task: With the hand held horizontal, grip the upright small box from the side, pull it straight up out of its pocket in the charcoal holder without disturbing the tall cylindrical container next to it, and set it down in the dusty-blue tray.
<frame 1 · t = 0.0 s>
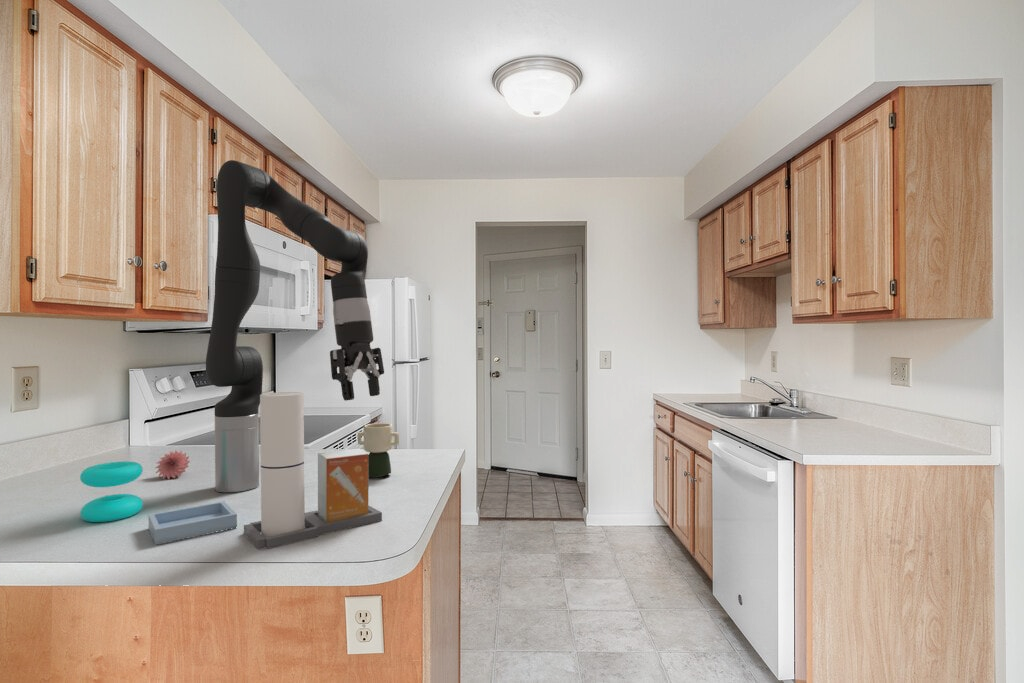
hand: (362, 397, 114), 22 cm above the countertop, tool pointing down, fingers open, 8 cm apart
flower: (174, 477, 138), on the countertop
cylindrical container: (283, 535, 97), resting in holder
donuts: (112, 516, 108), on the countertop
holder: (314, 527, 100), on the countertop
small box: (343, 521, 104), resting in holder
character mug: (378, 477, 137), on the countertop
tray: (192, 528, 100), on the countertop
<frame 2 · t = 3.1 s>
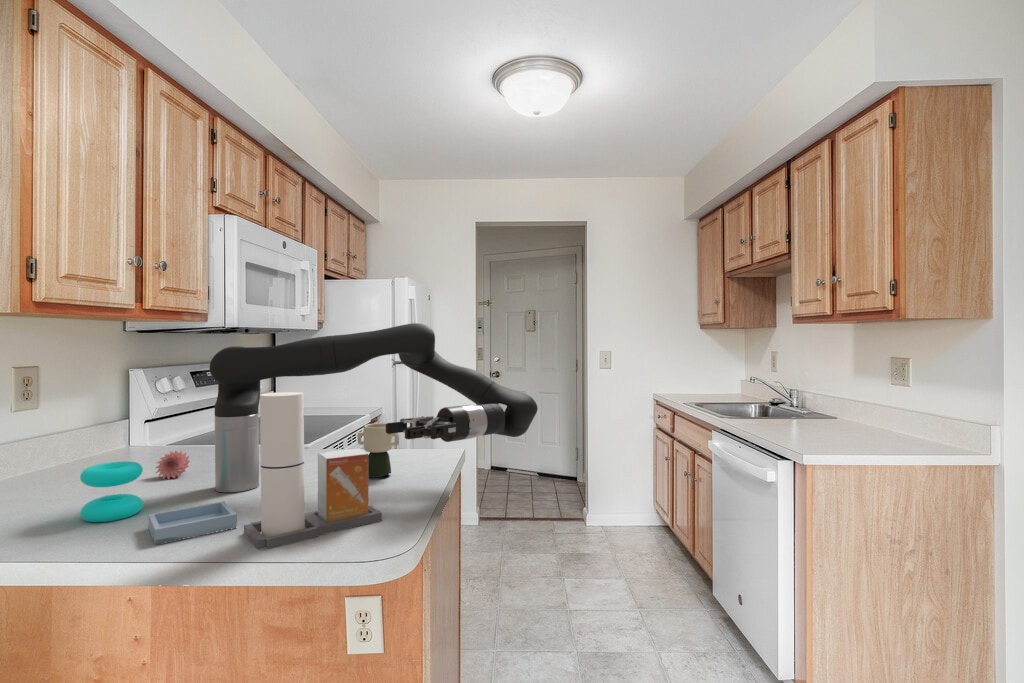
hand: (395, 431, 111), 16 cm above the countertop, tool horizontal, fingers open, 8 cm apart
nothing on the countertop moved.
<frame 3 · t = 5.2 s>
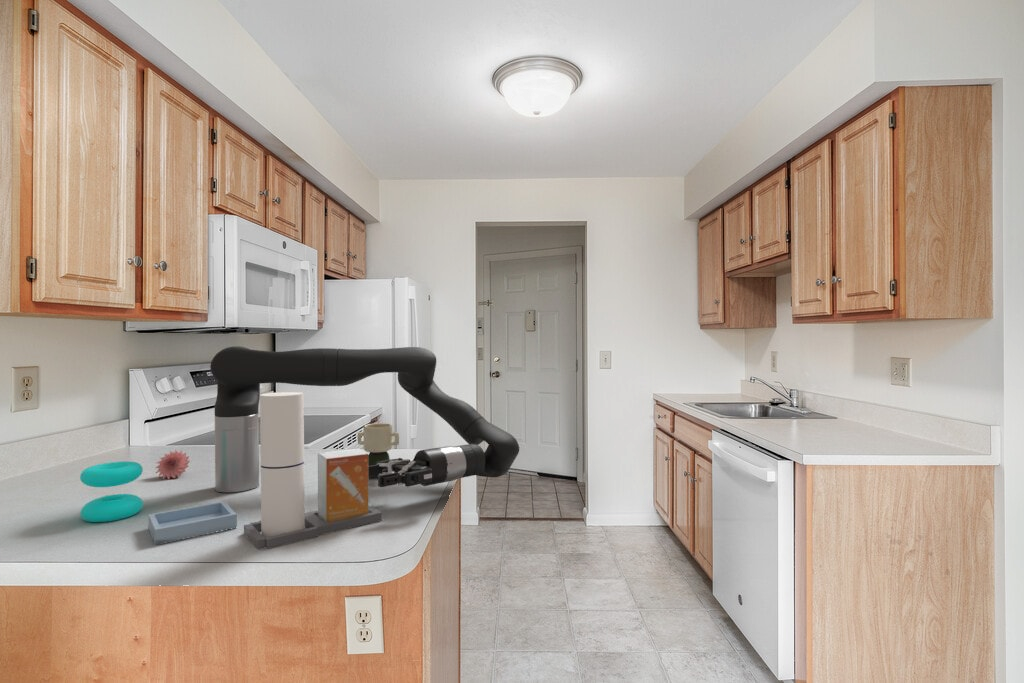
hand: (369, 477, 107), 7 cm above the countertop, tool horizontal, fingers open, 8 cm apart
nothing on the countertop moved.
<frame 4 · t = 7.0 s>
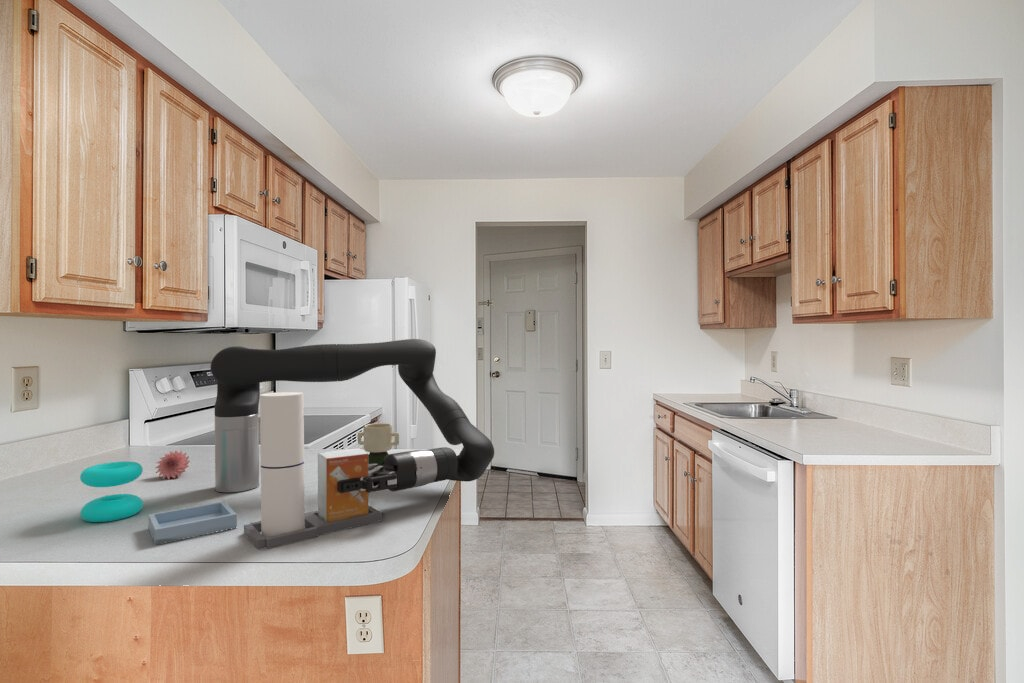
hand: (331, 483, 102), 8 cm above the countertop, tool horizontal, fingers closed on small box, 6 cm apart
small box: (343, 521, 104), resting in holder, touching gripper
everything else where it was.
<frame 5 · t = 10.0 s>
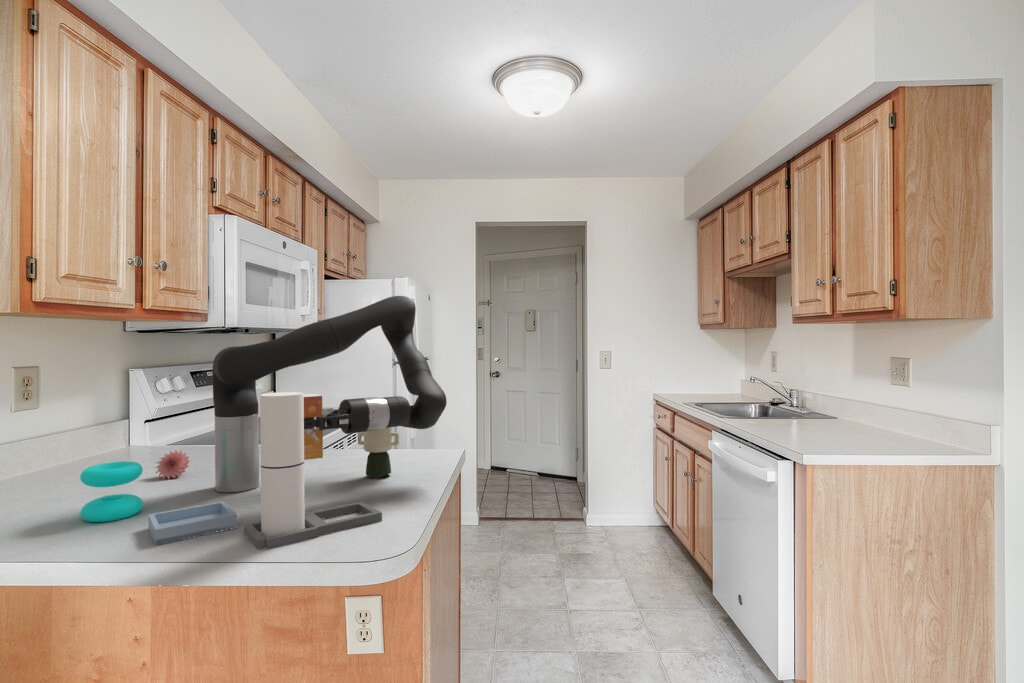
hand: (287, 422, 111), 18 cm above the countertop, tool horizontal, fingers closed on small box, 6 cm apart
small box: (299, 459, 112), point 10 cm above the countertop, touching gripper
everything else where it was.
when the fingers open (10 cm above the countertop, at t = 13.2 s): small box drops 1 cm, resting on tray.
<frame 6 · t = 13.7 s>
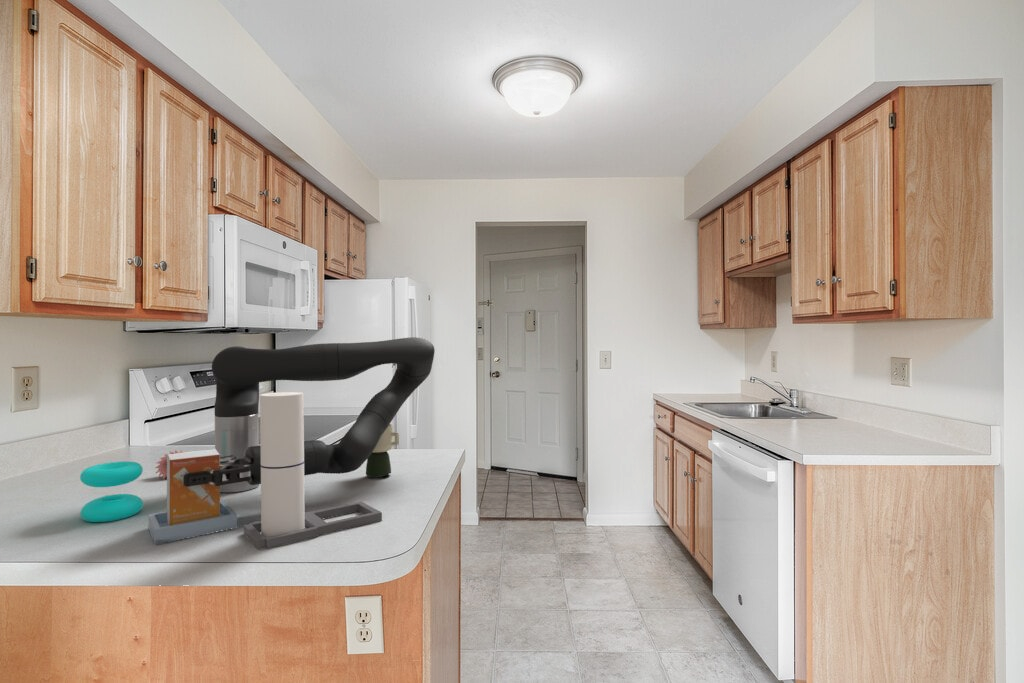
hand: (180, 475, 99), 10 cm above the countertop, tool horizontal, fingers open, 8 cm apart
small box: (193, 525, 100), point 1 cm above the countertop, touching tray
everything else where it was.
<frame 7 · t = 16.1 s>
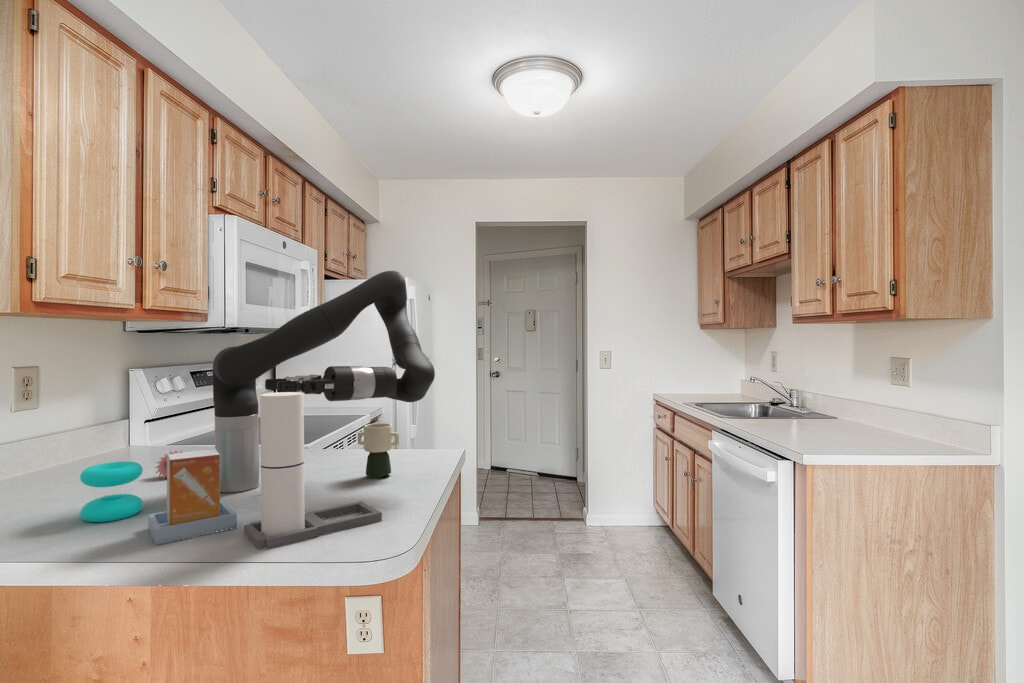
hand: (271, 385, 109), 25 cm above the countertop, tool horizontal, fingers open, 8 cm apart
nothing on the countertop moved.
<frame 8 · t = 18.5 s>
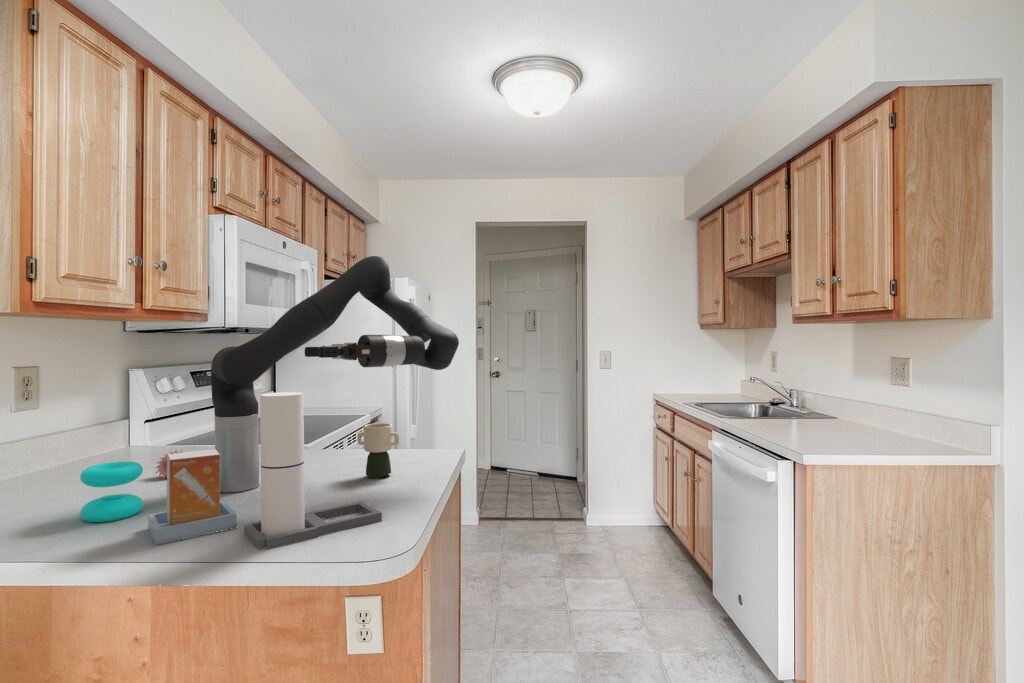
hand: (311, 352, 117), 32 cm above the countertop, tool horizontal, fingers open, 8 cm apart
nothing on the countertop moved.
at the end: small box inside the target area on the tray (0.2 cm from its centre), point 0.6 cm above the tray's base; small box tilted 0°; cylindrical container moved 0.2 cm from its start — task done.
